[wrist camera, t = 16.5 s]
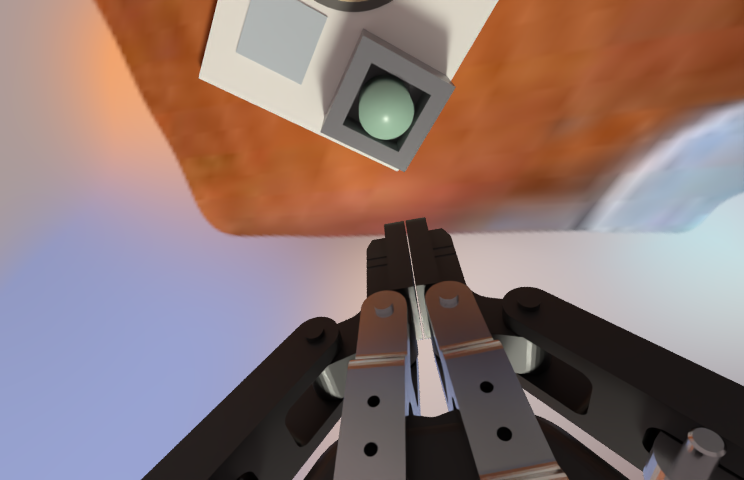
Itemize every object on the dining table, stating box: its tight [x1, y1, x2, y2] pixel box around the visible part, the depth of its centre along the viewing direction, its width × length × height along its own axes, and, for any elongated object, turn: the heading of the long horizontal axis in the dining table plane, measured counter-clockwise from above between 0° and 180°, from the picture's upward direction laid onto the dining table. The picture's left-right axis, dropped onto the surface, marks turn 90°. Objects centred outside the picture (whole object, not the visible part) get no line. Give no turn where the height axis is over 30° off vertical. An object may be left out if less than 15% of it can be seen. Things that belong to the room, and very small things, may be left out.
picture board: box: [199, 0, 498, 171], centre depth 27 cm, size 20×17×1 cm
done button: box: [359, 74, 414, 140], centre depth 28 cm, size 4×4×3 cm
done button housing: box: [320, 28, 455, 172], centre depth 29 cm, size 7×7×4 cm
